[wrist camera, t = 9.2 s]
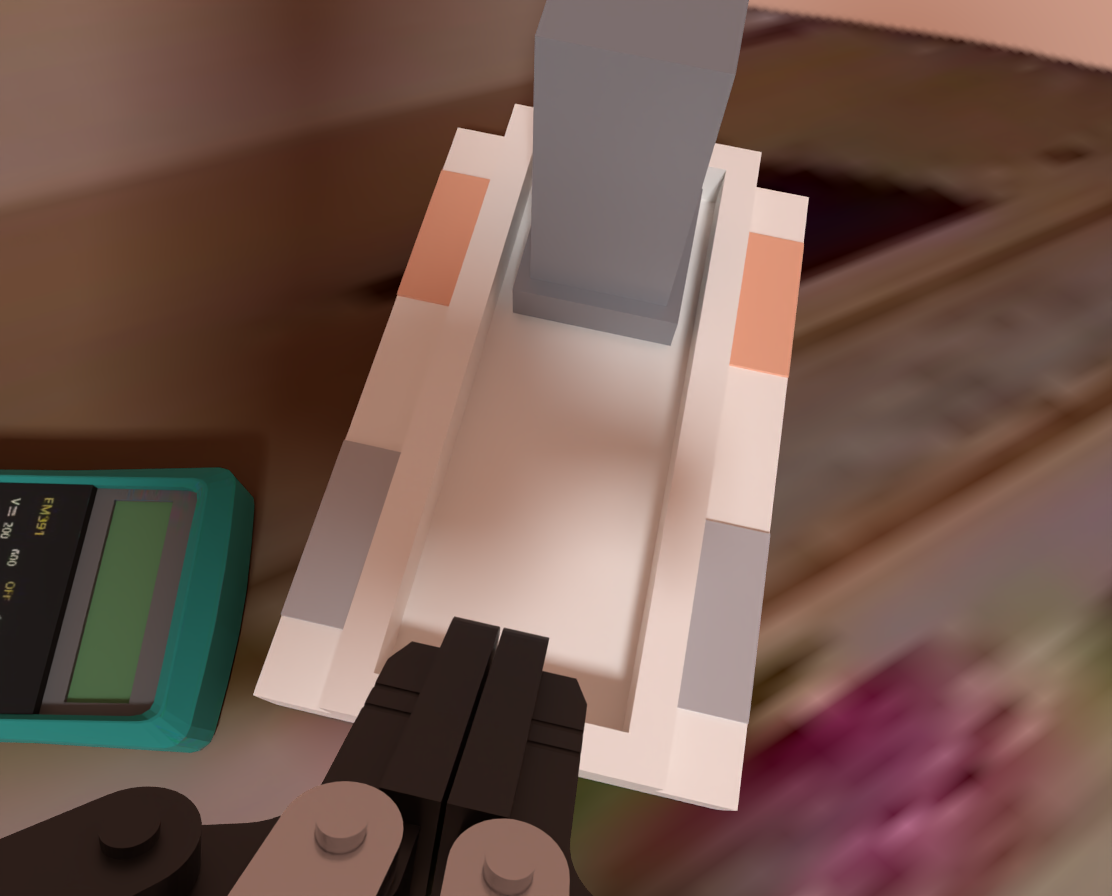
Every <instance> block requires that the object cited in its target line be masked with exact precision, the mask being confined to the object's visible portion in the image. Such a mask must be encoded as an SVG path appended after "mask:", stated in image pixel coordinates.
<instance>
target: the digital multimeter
mask: <svg viewBox="0 0 1112 896" xmlns="http://www.w3.org/2000/svg"><path fill="white" fill-rule="evenodd" d="M253 518H254V498H253V497H252V496H251V494H250V493H249V492H248V491H247V490H246V489H245V488H244V486H243V485H242V484H241V483H240V482H239V481H238V480H237V479H236V477H235V476H234V475H233V474H232V473H231V472H230V471H229V470H227V469H224V468H220V467H216V468H168V469H121V470H0V742H18V743H44V744H60V745H76V746H92V747H108V748H124V749H140V750H156V751H172V752H188V753H192V752H196V751H199V750H202V749H203V748H204V747H206V746H207V745H208V744H209V743H210V742H211V740H212V737H213V735H214V733H215V730H216V726H217V722H218V718H219V715H220V711H221V707H222V703H223V699H224V696H225V692H226V688H227V684H228V680H229V676H230V672H231V667H232V663H233V659H234V654H235V650H236V646H237V642H238V637H239V632H240V626H241V620H242V614H243V608H244V603H245V597H246V591H247V582H248V573H249V564H250V554H251V544H252V531H253Z"/></svg>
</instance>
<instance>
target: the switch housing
mask: <svg viewBox="0 0 1112 896" xmlns="http://www.w3.org/2000/svg"><path fill="white" fill-rule="evenodd" d="M533 109H534V107H529V106H524V105H519V104H515V106H514V109H513V112H512V115H511V118H510V121H509V124H508V127H507V130H506V133H505V136H504V137H503V136H498V135H493V134H488V133H483V132H478V131H473V130H468V129H463V128H458V129H457V132H456V134H455V137H454V140H453V143H452V146H451V148H450V151H449V154H448V157H447V159H446V162H445V165H444V168H443V170H441V173H440V176H439V179H438V181H437V184H436V187H435V190H434V192H433V195H432V198H431V201H430V203H429V206H428V209H427V212H426V215H425V217H424V220H423V223H422V226H421V228H420V231H419V234H418V237H417V239H416V242H415V245H414V248H413V250H412V253H411V256H410V259H409V261H408V264H407V267H406V270H405V273H404V275H403V278H402V281H401V284H400V286H399V289H398V292H397V298H396V301H395V303H394V306H393V309H392V312H391V314H390V317H389V320H388V323H387V325H386V328H385V331H384V334H383V337H382V339H381V342H380V345H379V348H378V350H377V353H376V356H375V359H374V361H373V364H372V367H371V370H370V373H369V375H368V378H367V381H366V384H365V386H364V389H363V392H362V395H361V397H360V400H359V403H358V406H357V409H356V411H355V414H354V417H353V420H352V422H351V425H350V428H349V431H348V433H347V436H346V439H345V440H344V441H343V444H342V447H341V449H340V452H339V455H338V458H337V460H336V463H335V466H334V469H333V471H332V474H331V477H330V480H329V483H328V485H327V488H326V491H325V494H324V496H323V499H322V502H321V505H320V507H319V510H318V513H317V516H316V518H315V521H314V524H313V527H312V529H311V532H310V535H309V538H308V541H307V543H306V546H305V549H304V552H303V554H302V557H301V560H300V563H299V565H298V568H297V571H296V574H295V576H294V579H293V582H292V585H291V587H290V590H289V593H288V596H287V599H286V601H285V604H284V607H283V610H282V612H281V615H282V616H281V619H280V622H279V624H278V627H277V630H276V633H275V636H274V638H273V641H272V644H271V647H270V649H269V652H268V655H267V658H266V660H265V663H264V666H263V669H262V671H261V674H260V677H259V680H258V683H257V685H256V688H255V691H254V694H253V695H254V696H257V697H259V698H261V699H264V700H266V701H269V702H271V703H274V704H277V705H281V706H285V707H289V708H293V709H298V710H302V711H306V712H310V713H314V714H319V715H323V716H327V717H331V718H335V719H340V720H344V721H348V722H352V723H354V722H355V720H356V718H357V716H358V714H359V712H360V710H361V709H362V707H364V704H365V701H366V699H367V697H368V695H369V693H370V692H371V690H372V688H373V687H374V686H375V682H376V680H377V678H378V676H379V674H380V673H381V671H382V669H383V667H384V665H385V663H386V661H387V659H388V658H389V657H391V656H392V655H394V654H395V653H396V652H398V651H399V650H401V649H402V648H403V647H405V646H406V645H408V644H409V643H410V642H412V641H413V642H418V643H422V644H426V645H431V646H435V647H439V648H440V646H441V644H442V642H443V639H444V637H445V635H446V632H447V630H448V628H449V626H450V623H451V621H452V619H453V617H454V616H455V617H460V618H464V619H468V620H473V621H477V622H482V623H486V624H490V625H495V626H499V627H500V635H499V640H500V637H501V634H502V631H503V628H504V627H505V628H509V629H513V630H518V631H522V632H527V633H531V634H535V635H540V636H544V637H549V643H548V647H547V652H546V657H545V661H544V666H543V671H545V672H550V673H554V674H558V675H563V676H567V677H571V678H576V679H577V681H578V683H579V686H580V688H581V691H582V693H583V695H584V698H585V700H586V702H587V711H586V719H585V726H584V733H583V742H582V750H581V756H580V766H579V774H578V777H582V778H586V779H591V780H595V781H599V782H603V783H607V784H611V785H616V786H620V787H624V788H628V789H632V790H637V791H641V792H645V793H649V794H653V795H658V796H662V797H666V798H670V799H674V800H678V801H683V802H687V803H691V804H695V805H699V806H704V807H708V808H712V809H716V810H732V811H737V809H738V800H739V792H740V783H741V774H742V766H743V757H744V749H745V740H746V731H747V724H748V723H749V714H750V706H751V697H752V688H753V680H754V671H755V663H756V654H757V645H758V637H759V628H760V619H761V611H762V602H763V594H764V585H765V576H766V568H767V559H768V550H769V542H770V525H771V517H772V508H773V500H774V491H775V482H776V474H777V465H778V457H779V448H780V439H781V431H782V422H783V414H784V405H785V396H786V388H787V379H788V377H789V369H790V361H791V352H792V343H793V335H794V326H795V318H796V309H797V300H798V292H799V283H800V274H801V266H802V257H803V249H804V243H803V242H804V233H805V225H806V216H807V207H808V199H809V197H804V196H799V195H794V194H789V193H784V192H779V191H774V190H769V189H764V188H759V187H756V185H757V179H758V172H759V166H760V159H761V152H757V151H752V150H747V149H742V148H737V147H732V146H727V145H721V144H716V143H715V145H714V149H713V152H712V155H711V159H710V162H709V166H708V169H707V172H706V176H705V179H704V182H703V186H702V189H703V191H702V197H701V202H700V208H699V213H698V218H697V224H696V229H695V234H694V240H693V245H692V250H691V256H690V261H689V267H688V272H687V277H686V283H685V288H684V293H683V299H682V304H681V310H680V315H679V320H678V325H677V328H676V331H675V334H674V337H673V340H672V343H671V346H669V345H664V344H659V343H654V342H650V341H645V340H640V339H635V338H631V337H626V336H621V335H616V334H612V333H607V332H602V331H597V330H593V329H588V328H583V327H578V326H574V325H569V324H564V323H559V322H555V321H550V320H545V319H540V318H536V317H531V316H526V315H521V314H517V313H513V292H512V289H513V286H514V282H515V279H516V275H517V272H518V269H519V265H520V262H521V258H522V255H523V252H524V248H525V245H526V241H527V238H528V234H529V231H530V228H531V209H532V159H533ZM498 643H499V641H498Z"/></svg>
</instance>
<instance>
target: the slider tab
mask: <svg viewBox="0 0 1112 896" xmlns="http://www.w3.org/2000/svg"><path fill="white" fill-rule="evenodd" d="M748 1H749V0H547V1H546V4H545V7H544V10H543V13H542V16H541V19H540V22H539V25H538V28H537V31H536V34H535V59H534V109H533V159H532V209H531V228H530V231H529V234H528V238H527V241H526V245H525V248H524V252H523V255H522V258H521V262H520V265H519V269H518V272H517V275H516V279H515V282H514V286H513V289H512V292H513V313H517V314H521V315H526V316H531V317H536V318H540V319H545V320H550V321H555V322H559V323H564V324H569V325H574V326H578V327H583V328H588V329H593V330H597V331H602V332H607V333H612V334H616V335H621V336H626V337H631V338H635V339H640V340H645V341H650V342H654V343H659V344H664V345H669V346H671V343H672V340H673V337H674V334H675V331H676V328H677V325H678V320H679V315H680V310H681V304H682V299H683V293H684V288H685V283H686V277H687V272H688V267H689V261H690V256H691V250H692V245H693V240H694V234H695V229H696V224H697V218H698V213H699V208H700V202H701V197H702V191H703V189H702V186H703V182H704V179H705V176H706V172H707V169H708V166H709V162H710V159H711V155H712V152H713V149H714V145H715V142H716V139H717V135H718V132H719V128H720V125H721V122H722V118H723V115H724V112H725V108H726V105H727V101H728V98H729V95H730V91H731V88H732V85H733V81H734V78H735V74H736V69H737V63H738V58H739V52H740V46H741V41H742V35H743V30H744V24H745V18H746V13H747V7H748Z"/></svg>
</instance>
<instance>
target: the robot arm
mask: <svg viewBox="0 0 1112 896" xmlns="http://www.w3.org/2000/svg"><path fill="white" fill-rule="evenodd" d="M499 635H500V627H499V626H495V625H490V624H486V623H482V622H477V621H473V620H468V619H464V618H460V617H455V616H454V617H453V619H452V621H451V623H450V626H449V628H448V630H447V632H446V635H445V637H444V639H443V642H442V644H441V646H440V648H439V647H435V646H431V645H426V644H422V643H418V642H413V641H412V642H410V643H409V644H408V645H406V646H405V647H403V648H402V649H401V650H399V651H398V652H396V653H395V654H394V655H392V656H391V657H389V658H388V659H387V661H386V663H385V665H384V667H383V669H382V671H381V673H380V674H379V676H378V678H377V680H376V682H375V686H374V687H373V688H372V690H371V692H370V693H369V695H368V697H367V699H366V701H365V704H364V707H362V709H361V710H360V712H359V714H358V716H357V718H356V720H355V722H354V724H353V726H352V728H351V729H350V731H349V733H348V735H347V737H346V739H345V741H344V743H343V745H342V746H341V748H340V750H339V752H338V754H337V756H336V758H335V760H334V762H333V764H332V765H331V767H330V769H329V771H328V773H327V775H326V777H325V779H324V781H323V782H322V784H321V785H320V786H316V787H314V788H312V789H310V790H308V791H306V792H304V793H303V794H301V795H300V796H298V797H297V798H296V799H295V800H294V801H293V802H291V803H290V805H289V806H288V807H287V808H286V810H285V811H284V812H283V814H282V815H281V816H278V817H276V818H273V819H269V820H265V821H260V822H252V823H239V824H217V825H202V822H201V817H200V814H199V812H198V810H197V808H196V806H195V805H194V804H193V803H192V801H191V800H189V799H188V798H187V797H185V796H184V795H182V794H180V793H178V792H176V791H173V790H170V789H166V788H160V787H136V788H129V789H125V790H121V791H117V792H114V793H112V794H109V795H106V796H104V797H101V798H99V799H96V800H94V801H91V802H89V803H87V804H84V805H82V806H79V807H77V808H74V809H72V810H70V811H67V812H65V813H62V814H60V815H57V816H55V817H53V818H50V819H48V820H45V821H43V822H40V823H38V824H36V825H33V826H31V827H28V828H26V829H24V830H21V831H19V832H16V833H14V834H11V835H9V836H7V837H4V838H2V839H0V896H593V895H592V894H591V893H590V892H589V891H588V890H587V889H586V888H585V886H584V885H583V883H582V882H581V880H580V879H579V877H578V875H577V873H576V871H575V869H574V866H573V863H572V860H571V854H570V836H571V829H572V821H573V813H574V805H575V797H576V789H577V781H578V774H579V766H580V756H581V750H582V742H583V733H584V726H585V719H586V711H587V702H586V700H585V698H584V695H583V693H582V691H581V688H580V686H579V683H578V681H577V679H576V678H571V677H567V676H563V675H558V674H554V673H550V672H545V671H543V666H544V661H545V657H546V652H547V647H548V643H549V637H544V636H540V635H535V634H531V633H527V632H522V631H518V630H513V629H509V628H505V627H504V628H503V631H502V634H501V637H500V640H499ZM498 641H499V643H498Z"/></svg>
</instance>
